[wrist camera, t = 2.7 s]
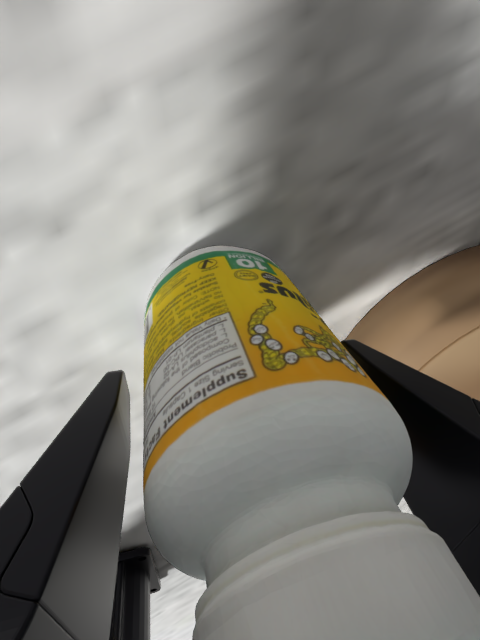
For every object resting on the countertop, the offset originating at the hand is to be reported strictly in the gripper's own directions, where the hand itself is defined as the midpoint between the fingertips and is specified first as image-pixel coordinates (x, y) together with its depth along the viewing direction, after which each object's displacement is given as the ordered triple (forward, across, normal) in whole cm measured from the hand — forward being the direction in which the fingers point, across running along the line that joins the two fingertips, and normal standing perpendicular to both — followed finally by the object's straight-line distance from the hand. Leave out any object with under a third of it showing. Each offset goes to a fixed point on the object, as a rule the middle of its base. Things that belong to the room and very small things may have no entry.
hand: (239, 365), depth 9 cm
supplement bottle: (+3, 0, 0) cm, 3 cm away
